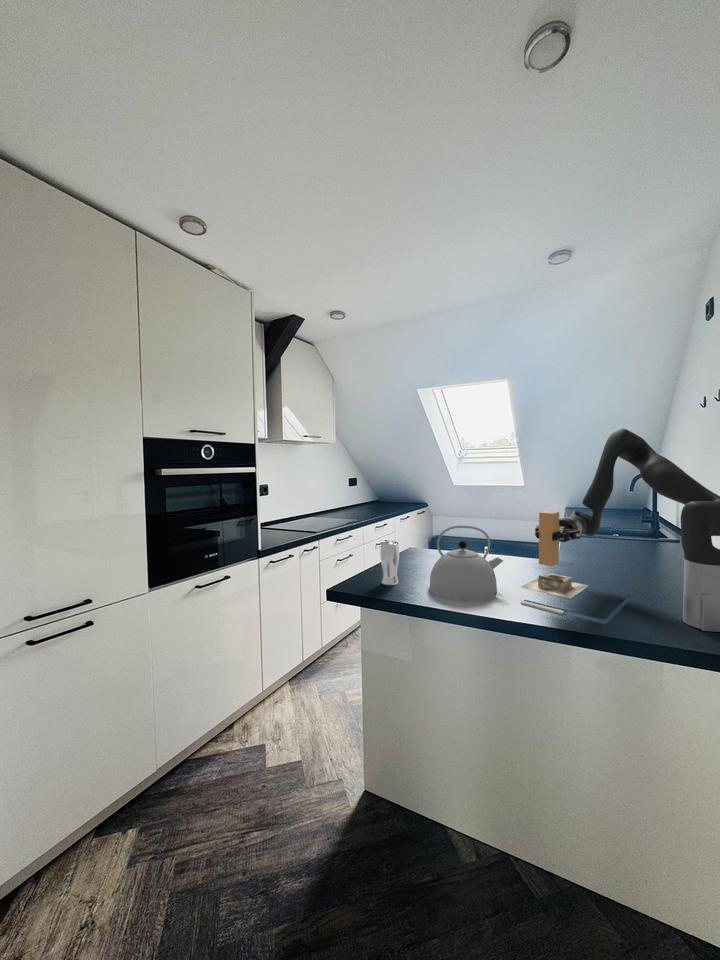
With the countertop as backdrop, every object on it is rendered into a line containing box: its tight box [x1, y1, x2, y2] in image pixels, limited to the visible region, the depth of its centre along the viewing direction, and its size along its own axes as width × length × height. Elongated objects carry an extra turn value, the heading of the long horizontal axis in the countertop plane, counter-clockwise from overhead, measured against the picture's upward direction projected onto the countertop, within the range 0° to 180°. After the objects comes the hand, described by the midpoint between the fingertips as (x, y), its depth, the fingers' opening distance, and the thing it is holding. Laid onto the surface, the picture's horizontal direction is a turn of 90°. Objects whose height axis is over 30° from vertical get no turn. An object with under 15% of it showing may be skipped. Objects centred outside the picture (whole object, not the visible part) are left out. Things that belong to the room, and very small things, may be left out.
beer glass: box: [379, 540, 400, 586], centre depth 142 cm, size 7×7×15 cm
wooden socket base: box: [520, 572, 590, 599], centre depth 133 cm, size 16×18×5 cm
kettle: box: [429, 525, 504, 602], centre depth 133 cm, size 25×23×23 cm
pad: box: [520, 599, 568, 616], centre depth 119 cm, size 12×12×1 cm
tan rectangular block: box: [538, 510, 560, 567], centre depth 118 cm, size 4×5×16 cm
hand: (545, 536), depth 116 cm, fingers closed on tan rectangular block, 4 cm apart
